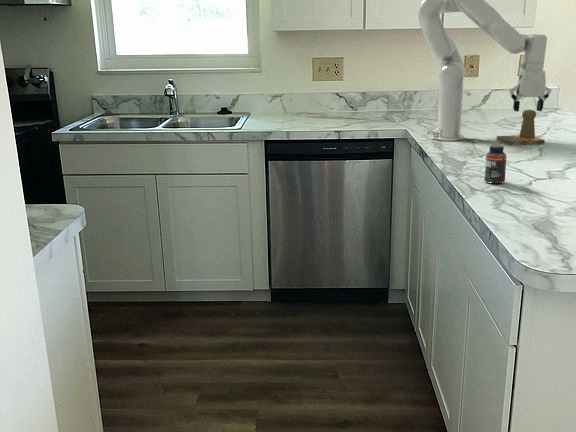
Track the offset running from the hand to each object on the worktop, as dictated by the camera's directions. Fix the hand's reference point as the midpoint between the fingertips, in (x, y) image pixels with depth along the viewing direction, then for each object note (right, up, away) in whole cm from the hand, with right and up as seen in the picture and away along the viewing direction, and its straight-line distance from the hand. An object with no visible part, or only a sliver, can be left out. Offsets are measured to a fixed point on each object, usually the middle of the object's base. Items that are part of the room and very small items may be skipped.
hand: (527, 110), depth 250 cm
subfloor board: (-2, -12, +3) cm, 13 cm away
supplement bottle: (-33, -32, -59) cm, 75 cm away
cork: (+1, -10, +3) cm, 11 cm away
